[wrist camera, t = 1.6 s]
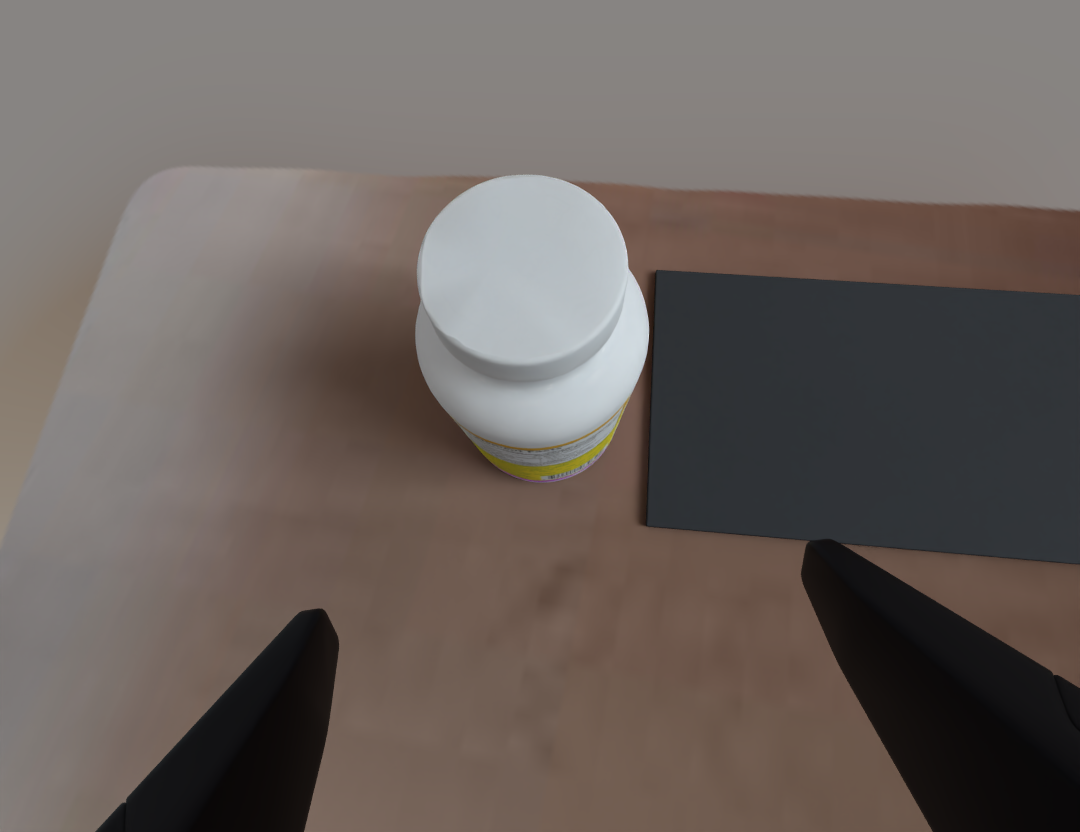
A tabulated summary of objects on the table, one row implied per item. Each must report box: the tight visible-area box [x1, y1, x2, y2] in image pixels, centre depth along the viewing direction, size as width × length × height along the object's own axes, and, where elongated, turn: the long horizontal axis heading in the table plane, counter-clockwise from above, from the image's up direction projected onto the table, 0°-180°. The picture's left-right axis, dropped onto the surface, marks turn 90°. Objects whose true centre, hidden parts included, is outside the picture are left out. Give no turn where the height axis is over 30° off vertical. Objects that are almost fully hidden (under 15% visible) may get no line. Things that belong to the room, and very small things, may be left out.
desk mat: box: [646, 270, 1080, 564], centre depth 23 cm, size 20×12×1 cm, turn 85°
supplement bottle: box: [415, 175, 649, 482], centre depth 18 cm, size 7×7×13 cm
